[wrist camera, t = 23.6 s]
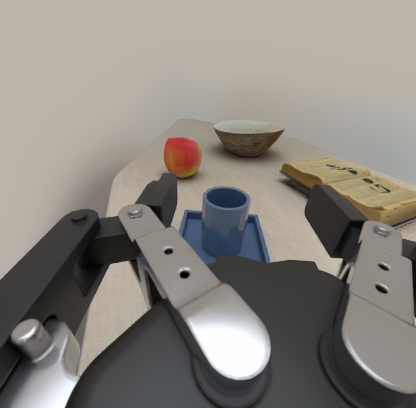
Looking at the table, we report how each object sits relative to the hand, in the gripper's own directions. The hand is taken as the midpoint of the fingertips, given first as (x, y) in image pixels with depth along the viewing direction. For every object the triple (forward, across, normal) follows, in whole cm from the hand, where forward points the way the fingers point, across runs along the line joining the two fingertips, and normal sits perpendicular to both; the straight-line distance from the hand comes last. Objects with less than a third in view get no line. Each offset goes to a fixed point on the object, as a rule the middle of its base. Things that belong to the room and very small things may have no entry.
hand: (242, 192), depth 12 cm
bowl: (+64, -9, +17) cm, 67 cm away
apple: (+40, +10, +18) cm, 44 cm away
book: (+32, -28, +17) cm, 46 cm away
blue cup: (+13, 0, +16) cm, 21 cm away
